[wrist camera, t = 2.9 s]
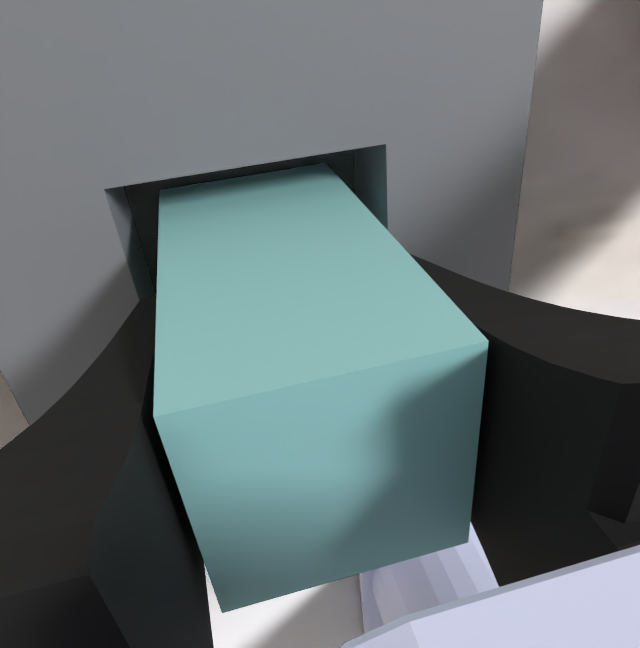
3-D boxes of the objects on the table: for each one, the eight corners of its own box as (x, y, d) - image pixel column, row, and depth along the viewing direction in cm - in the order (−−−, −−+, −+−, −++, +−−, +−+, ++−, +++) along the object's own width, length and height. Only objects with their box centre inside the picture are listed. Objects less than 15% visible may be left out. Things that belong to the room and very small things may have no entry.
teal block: (337, 302, 15) (467, 543, 9) (196, 332, 15) (222, 613, 8) (325, 162, 13) (488, 341, 7) (159, 190, 12) (153, 416, 6)
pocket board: (452, 416, 19) (487, 468, 17) (112, 500, 18) (105, 568, 16) (491, -179, 11) (569, -217, 9) (-181, -133, 9) (-286, -170, 7)
